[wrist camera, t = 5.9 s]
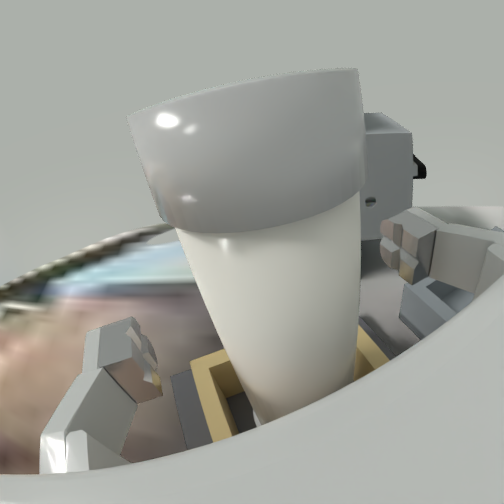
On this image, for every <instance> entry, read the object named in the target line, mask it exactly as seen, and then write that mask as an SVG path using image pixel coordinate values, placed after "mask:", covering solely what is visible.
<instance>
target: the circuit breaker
mask: <svg viewBox="0 0 504 504" xmlns="http://www.w3.org/2000/svg"><path fill="white" fill-rule="evenodd" d="M364 121H365V132H366V143H367V157H368V178H367V181H366V183H365V184H364V186H363V187H362V188H361V190H359V193H360V221H361V241H362V240H374V239H382V238H383V235H382V234H381V233H380V225H381V223H382V221H383V220H385V219H387V218H390V217H392V216H395V215H397V214H399V213H402V212H403V211H405V210H407V209H409V208H412V191H413V179H425V178H426V167H425V165H424V164H423V163H422V162H421V161H420V160H418V159H417V158H416V157H415V155H414V154H413V144H412V143H413V141H412V133H411V132H410V131H408V130H407V129H405V128H404V127H402V126H401V125H400V124H398V123H397V122H395V121H394V120H392V119H391V118H389V117H388V116H386V115H384V114H383V113H364Z"/></svg>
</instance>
